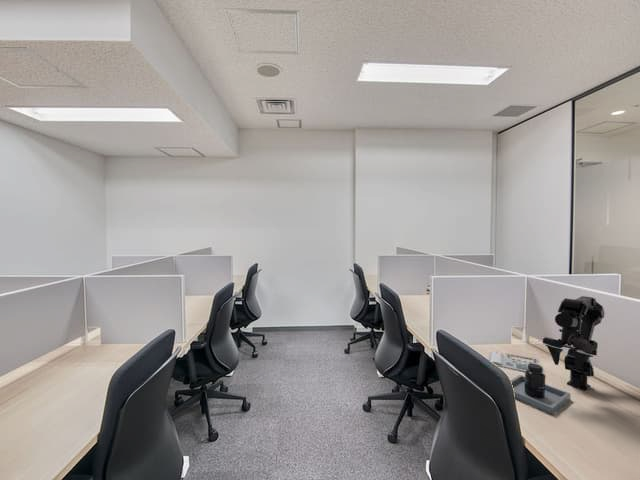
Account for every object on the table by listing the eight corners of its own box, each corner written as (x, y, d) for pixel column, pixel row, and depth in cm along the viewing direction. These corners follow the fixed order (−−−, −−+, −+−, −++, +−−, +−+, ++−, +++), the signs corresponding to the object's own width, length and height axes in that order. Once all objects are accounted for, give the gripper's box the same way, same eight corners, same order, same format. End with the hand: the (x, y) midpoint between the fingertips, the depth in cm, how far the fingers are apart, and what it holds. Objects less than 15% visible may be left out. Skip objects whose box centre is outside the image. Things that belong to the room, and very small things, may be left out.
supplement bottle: (543, 401, 114) (544, 371, 113) (522, 394, 118) (523, 365, 118) (546, 394, 118) (546, 365, 118) (526, 387, 123) (526, 360, 123)
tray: (520, 380, 131) (520, 374, 131) (570, 399, 116) (570, 393, 116) (500, 392, 121) (500, 386, 121) (552, 415, 106) (552, 408, 106)
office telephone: (487, 360, 147) (489, 347, 164) (487, 365, 147) (489, 352, 164) (545, 372, 134) (540, 356, 151) (544, 377, 134) (540, 361, 151)
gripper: (567, 328, 111) (563, 369, 110) (612, 338, 112) (608, 379, 110) (543, 323, 122) (539, 360, 121) (585, 332, 123) (581, 369, 121)
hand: (566, 367), depth 118 cm, fingers open, 9 cm apart
